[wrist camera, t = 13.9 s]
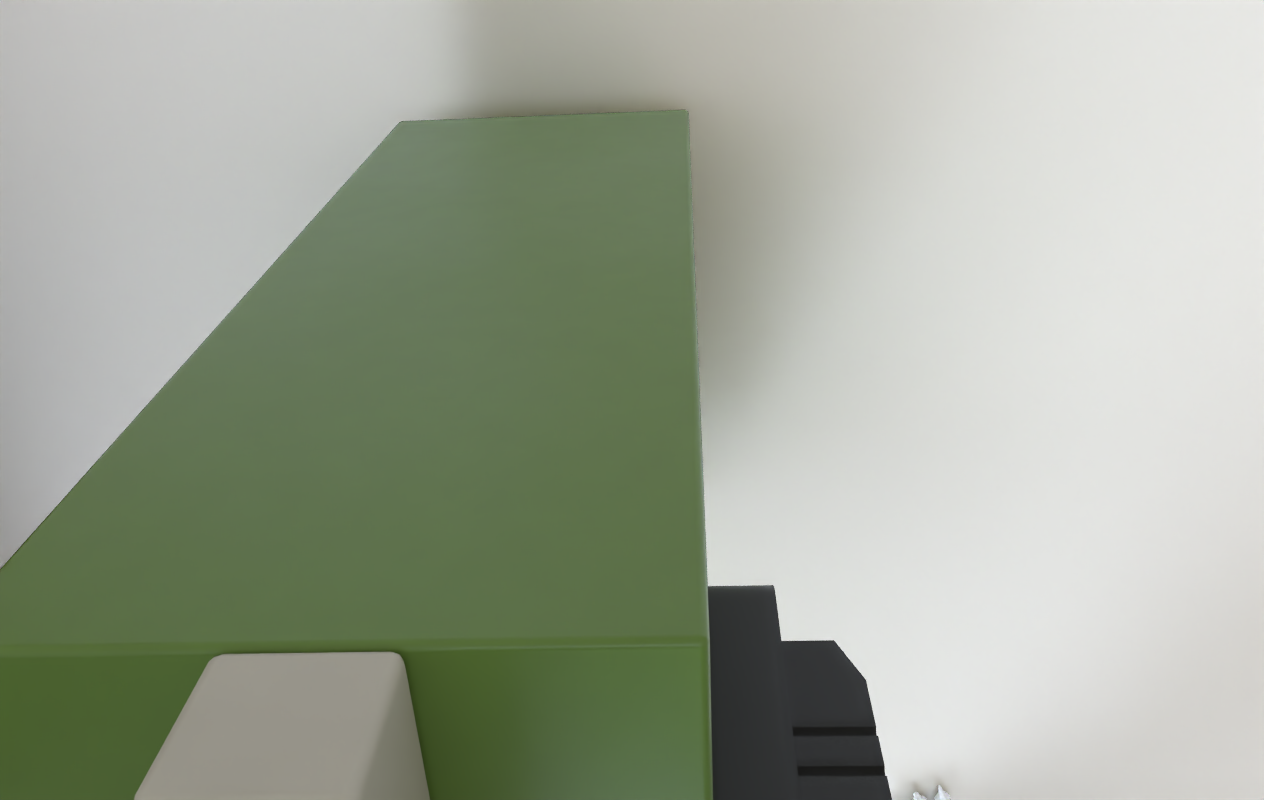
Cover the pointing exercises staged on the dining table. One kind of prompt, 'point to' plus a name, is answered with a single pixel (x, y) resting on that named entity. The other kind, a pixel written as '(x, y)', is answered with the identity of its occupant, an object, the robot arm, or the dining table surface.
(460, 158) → the green rectangular block
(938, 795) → the rabbit figurine
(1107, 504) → the dining table surface
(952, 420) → the dining table surface
